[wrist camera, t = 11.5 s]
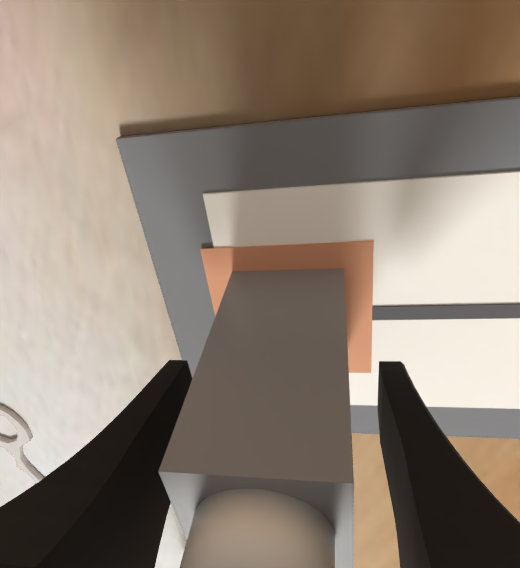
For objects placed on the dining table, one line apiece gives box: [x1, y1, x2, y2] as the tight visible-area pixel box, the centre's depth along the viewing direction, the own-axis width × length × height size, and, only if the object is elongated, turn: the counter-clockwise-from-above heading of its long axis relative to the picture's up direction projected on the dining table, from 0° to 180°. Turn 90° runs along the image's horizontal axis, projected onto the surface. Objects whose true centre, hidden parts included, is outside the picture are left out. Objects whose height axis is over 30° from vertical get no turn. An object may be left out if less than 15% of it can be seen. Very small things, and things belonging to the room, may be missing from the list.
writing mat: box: [116, 96, 520, 439], centre depth 15 cm, size 22×14×1 cm, turn 97°
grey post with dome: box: [158, 268, 354, 568], centre depth 12 cm, size 4×4×10 cm
